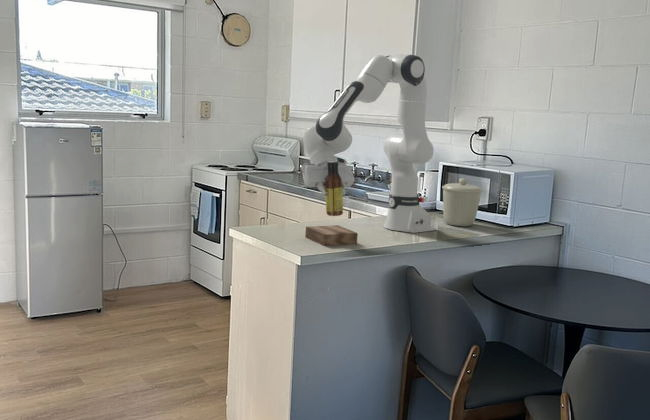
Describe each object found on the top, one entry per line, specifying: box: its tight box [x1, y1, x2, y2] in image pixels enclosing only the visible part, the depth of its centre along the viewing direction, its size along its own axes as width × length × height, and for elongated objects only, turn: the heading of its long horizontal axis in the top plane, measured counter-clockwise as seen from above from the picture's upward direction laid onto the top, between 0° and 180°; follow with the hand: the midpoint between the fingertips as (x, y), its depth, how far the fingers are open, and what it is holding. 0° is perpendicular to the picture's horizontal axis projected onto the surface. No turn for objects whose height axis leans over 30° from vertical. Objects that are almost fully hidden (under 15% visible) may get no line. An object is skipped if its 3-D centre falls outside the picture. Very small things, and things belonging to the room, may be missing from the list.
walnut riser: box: [304, 224, 359, 247], centre depth 238 cm, size 14×14×4 cm
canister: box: [441, 177, 484, 227], centre depth 287 cm, size 18×18×21 cm
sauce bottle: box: [324, 161, 344, 217], centre depth 235 cm, size 6×6×20 cm
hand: (334, 194), depth 234 cm, fingers closed on sauce bottle, 6 cm apart
